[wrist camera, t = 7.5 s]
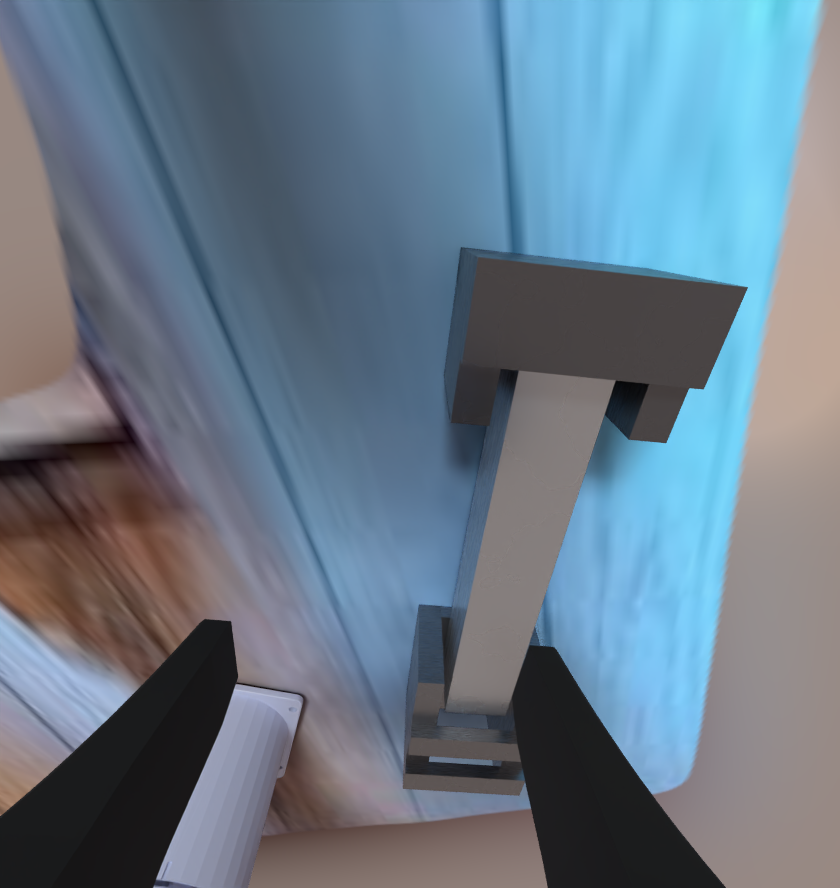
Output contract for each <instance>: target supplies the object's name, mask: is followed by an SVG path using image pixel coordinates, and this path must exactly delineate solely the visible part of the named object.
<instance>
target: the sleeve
mask: <svg viewBox="0 0 840 888" xmlns="http://www.w3.org/2000/svg"><path fill="white" fill-rule="evenodd" d="M451 610H452V607H442V606H429V605H419V608H418V615H417V622H416V629H415V636H414V643H413V650H412V657H411V664H410V671H409V678H408V685H407V692H406V714H405V742H404V770H403V789H417V790H433V791H450V792H467V793H484V794H501V795H518V796H519V795H520V792H521V790H522V787H523V785H524V783H525V778H524V773H523V769H522V764H521V759H520V755H519V750H518V745H517V737H516V729H515V721H514V712H513V703H512V697H511V700H510V703H509V706H508V709H507V712H506V715H505V716H492V715H487V723H488V729H476V728H461V727H446V726H436V723H437V718H438V714H439V709H440V708H443V709H445V702H444V663H443V651H444V646H445V641H446V636H447V631H448V625H449V620H450V615H451ZM529 645H534V646H540V644H539V640H538V636H537V633H536V629H535V627H534V630H533V633H532V636H531V639H530V642H529ZM529 645H528V648H529ZM527 651H528V649H527ZM526 654H527V652H526ZM525 657H526V655H525ZM524 660H525V658H524ZM523 663H524V661H523ZM522 666H523V664H522ZM521 669H522V667H521ZM520 672H521V670H520ZM519 675H520V673H519ZM518 678H519V676H518ZM517 680H518V679H517ZM516 683H517V682H516ZM515 686H516V685H515ZM514 689H515V688H514ZM513 692H514V691H513ZM512 695H513V694H512ZM430 756H435V757H451V758H467V759H483V760H492V761H493V766H488V765H472V764H456V763H440V762H429V757H430Z"/></svg>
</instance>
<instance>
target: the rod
mask: <svg viewBox="0 0 840 888" xmlns="http://www.w3.org/2000/svg"><path fill="white" fill-rule="evenodd" d="M615 381H616V380H606V379H596V378H586V377H576V376H567V375H557V374H547V373H537V372H527V371H517V370H508V369H500V374H499V379H498V385H497V390H496V395H495V400H494V405H493V410H492V415H491V420H490V425H489V426H487V428H486V433H485V439H484V444H483V449H482V454H481V459H480V465H479V470H478V475H477V480H476V485H475V491H474V496H473V501H472V506H471V511H470V517H469V522H468V527H467V532H466V537H465V542H464V548H463V553H462V558H461V563H460V568H459V574H458V579H457V584H456V589H455V594H454V600H453V605H452V610H451V615H450V620H449V625H448V631H447V636H446V641H445V646H444V651H443V663H444V702H445V712H448V713H462V714H477V715H492V716H505V715H506V712H507V709H508V706H509V703H510V700H511V697H512V694H513V691H514V688H515V685H516V682H517V679H518V676H519V673H520V670H521V667H522V664H523V661H524V658H525V655H526V652H527V649H528V645H529V642H530V639H531V636H532V633H533V630H534V627H535V624H536V621H537V618H538V615H539V612H540V609H541V606H542V603H543V600H544V597H545V594H546V591H547V588H548V585H549V582H550V579H551V576H552V573H553V569H554V566H555V563H556V560H557V557H558V554H559V551H560V548H561V545H562V542H563V539H564V536H565V533H566V530H567V527H568V524H569V521H570V518H571V515H572V512H573V509H574V506H575V503H576V500H577V497H578V494H579V490H580V487H581V484H582V481H583V478H584V475H585V472H586V469H587V466H588V463H589V460H590V457H591V454H592V451H593V448H594V445H595V442H596V439H597V436H598V433H599V430H600V427H601V424H602V421H603V418H604V414H605V411H606V408H607V405H608V402H609V399H610V396H611V393H612V390H613V387H614V384H615Z"/></svg>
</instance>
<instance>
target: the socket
mask: <svg viewBox="0 0 840 888" xmlns="http://www.w3.org/2000/svg"><path fill="white" fill-rule="evenodd" d="M747 288H748V287H743V286H738V285H733V284H727V283H722V282H717V281H712V280H706V279H701V278H696V277H690V276H685V275H680V274H675V273H669V272H664V271H659V270H653V269H648V268H639V267H630V266H621V265H612V264H604V263H595V262H586V261H577V260H568V259H559V258H551V257H542V256H533V255H524V254H515V253H506V252H498V251H489V250H480V249H471V248H462V247H461V251H460V258H459V266H458V273H457V281H456V288H455V296H454V303H453V311H452V319H451V326H450V334H449V341H448V349H447V356H446V364H445V371H444V379H445V386H446V393H447V400H448V407H449V414H450V421H451V423H462V424H472V425H483V426H489V425H490V420H491V415H492V410H493V405H494V400H495V395H496V390H497V385H498V379H499V374H500V369H508V370H517V371H527V372H537V373H547V374H557V375H567V376H576V377H586V378H596V379H606V380H616V381H615V384H614V387H613V390H612V393H611V396H610V399H609V402H608V405H607V408H606V411H605V415H606V416H607V417H608V418H609V419H610V421H611V422H612V423H613V424H614V425H615V426H616V427H617V428H618V429H619V430H620V431H621V432H622V433H623V434H624V435H625V436H626V437H627V438H628V439H629V440H639V441H650V442H660V443H666V442H667V440H668V438H669V435H670V433H671V430H672V428H673V426H674V423H675V421H676V418H677V416H678V414H679V411H680V409H681V406H682V404H683V402H684V399H685V397H686V394H687V392H688V390H689V388H694V389H704V387H705V385H706V383H707V381H708V378H709V376H710V374H711V371H712V369H713V367H714V364H715V362H716V360H717V357H718V355H719V353H720V351H721V348H722V346H723V344H724V341H725V339H726V337H727V334H728V332H729V330H730V327H731V325H732V323H733V321H734V318H735V316H736V314H737V311H738V309H739V307H740V304H741V302H742V300H743V298H744V295H745V293H746V291H747Z"/></svg>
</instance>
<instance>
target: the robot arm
mask: <svg viewBox="0 0 840 888" xmlns="http://www.w3.org/2000/svg"><path fill="white" fill-rule="evenodd" d="M237 679H238V672H237V664H236V656H235V648H234V641H233V633H232V625H231V621H221V620H209V619H205V620H203V621H202V622H200V623H199V625H198V626H197V627H196V628H195V629H194V630H193V631H192V632H191V633H190V635H189V636H188V637H187V638H186V639H185V640H184V641H183V642H182V643H181V644H180V646H179V647H178V648H177V649H176V650H175V651H174V652H173V653H172V654H171V655H170V656H169V657H168V658H167V660H166V661H165V662H164V663H163V664H162V665H161V666H160V667H159V668H158V669H157V670H156V671H155V672H154V673H153V674H152V675H151V676H150V677H149V679H148V680H147V681H146V682H145V683H144V684H143V685H142V686H141V687H140V688H139V689H138V690H137V691H136V692H135V693H134V694H133V695H132V696H131V697H130V698H129V699H128V700H127V701H126V702H125V703H124V704H123V705H122V706H121V707H120V708H119V709H118V710H117V711H116V712H115V713H114V714H113V715H112V716H111V717H110V718H109V719H108V720H107V721H106V722H105V723H104V724H102V725H101V726H100V727H99V728H98V729H97V730H96V731H95V732H94V733H93V734H92V735H91V736H90V737H89V738H88V739H87V740H86V741H84V742H83V743H82V744H81V745H80V746H79V747H78V748H77V749H76V750H75V751H74V752H73V753H72V754H71V755H70V756H69V757H68V758H66V759H65V760H64V761H63V762H62V763H61V764H60V765H59V766H58V767H57V768H55V769H54V770H53V771H52V772H51V773H50V774H49V775H48V776H47V777H45V778H44V779H43V780H42V781H41V782H40V783H39V784H37V785H36V786H35V787H34V788H33V789H32V790H31V791H29V792H28V793H27V794H26V795H25V796H24V797H22V798H21V799H20V800H19V801H18V802H17V803H15V804H14V805H13V806H12V807H11V808H10V809H8V810H7V811H6V812H5V813H4V814H3V815H1V816H0V888H248V885H249V882H250V878H251V874H252V870H253V867H254V863H255V859H256V855H257V851H258V847H259V844H260V840H261V836H262V832H263V829H264V825H265V821H266V817H267V814H268V810H269V806H270V802H271V798H272V795H273V791H274V787H275V783H276V780H277V778H281V777H283V776H284V774H285V770H286V766H287V763H288V759H289V755H290V751H291V747H292V743H293V739H294V735H295V732H296V728H297V724H298V720H299V716H300V712H301V708H302V704H303V698H302V697H301V696H300V695H297V694H292V693H286V692H280V691H275V690H269V689H263V688H257V687H252V686H246V685H240V684H236V682H237ZM512 703H513V712H514V721H515V729H516V737H517V745H518V750H519V755H520V759H521V764H522V769H523V773H524V778H525V783H526V787H527V792H528V796H529V801H530V805H531V810H532V814H533V819H534V823H535V828H536V832H537V837H538V841H539V846H540V850H541V855H542V860H543V864H544V870H545V874H546V880H547V886H548V888H726V887H725V886H724V885H723V884H722V882H721V881H720V880H719V879H718V878H717V876H716V875H715V874H714V873H713V872H712V870H711V869H710V868H709V867H708V866H707V864H706V863H705V862H704V861H703V860H702V859H701V857H700V856H699V855H698V853H697V852H696V851H695V850H694V848H693V847H692V846H691V845H690V843H689V842H688V841H687V840H686V838H685V837H684V836H683V835H682V834H681V832H680V831H679V830H678V828H677V827H676V826H675V825H674V823H673V822H672V821H671V819H670V818H669V817H668V815H667V814H666V813H665V811H664V810H663V809H662V807H661V806H660V805H659V804H658V802H657V801H656V799H655V798H654V797H653V795H652V794H651V793H650V791H649V790H648V788H647V787H646V786H645V784H644V783H643V782H642V780H641V779H640V778H639V776H638V775H637V773H636V772H635V771H634V769H633V768H632V766H631V765H630V763H629V762H628V761H627V759H626V758H625V756H624V755H623V753H622V752H621V750H620V749H619V747H618V746H617V744H616V743H615V741H614V740H613V739H612V737H611V736H610V734H609V733H608V731H607V730H606V728H605V727H604V725H603V724H602V722H601V721H600V719H599V718H598V716H597V714H596V713H595V711H594V710H593V708H592V707H591V705H590V704H589V702H588V700H587V699H586V697H585V696H584V694H583V692H582V691H581V689H580V688H579V686H578V684H577V683H576V681H575V680H574V678H573V676H572V675H571V673H570V671H569V670H568V668H567V666H566V665H565V663H564V661H563V660H562V658H561V656H560V655H559V653H558V652H557V650H556V649H555V648H554V647H546V646H534V645H529V648H528V651H527V654H526V657H525V660H524V663H523V666H522V669H521V672H520V675H519V678H518V680H517V683H516V686H515V689H514V692H513V695H512Z"/></svg>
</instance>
